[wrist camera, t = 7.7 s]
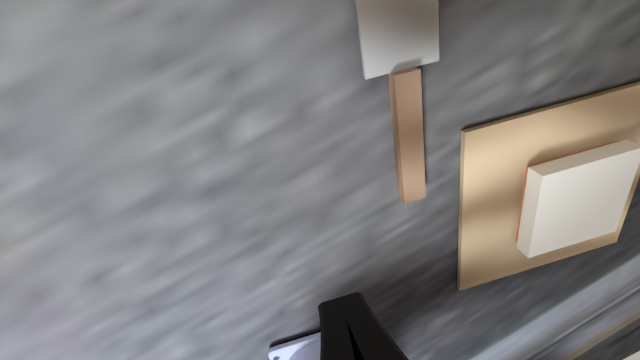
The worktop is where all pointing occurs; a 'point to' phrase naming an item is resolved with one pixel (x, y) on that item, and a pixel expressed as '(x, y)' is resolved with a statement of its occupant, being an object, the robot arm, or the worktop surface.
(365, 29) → the spatula
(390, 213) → the worktop surface
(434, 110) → the worktop surface
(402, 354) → the robot arm
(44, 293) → the worktop surface
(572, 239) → the tile
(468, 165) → the mat
